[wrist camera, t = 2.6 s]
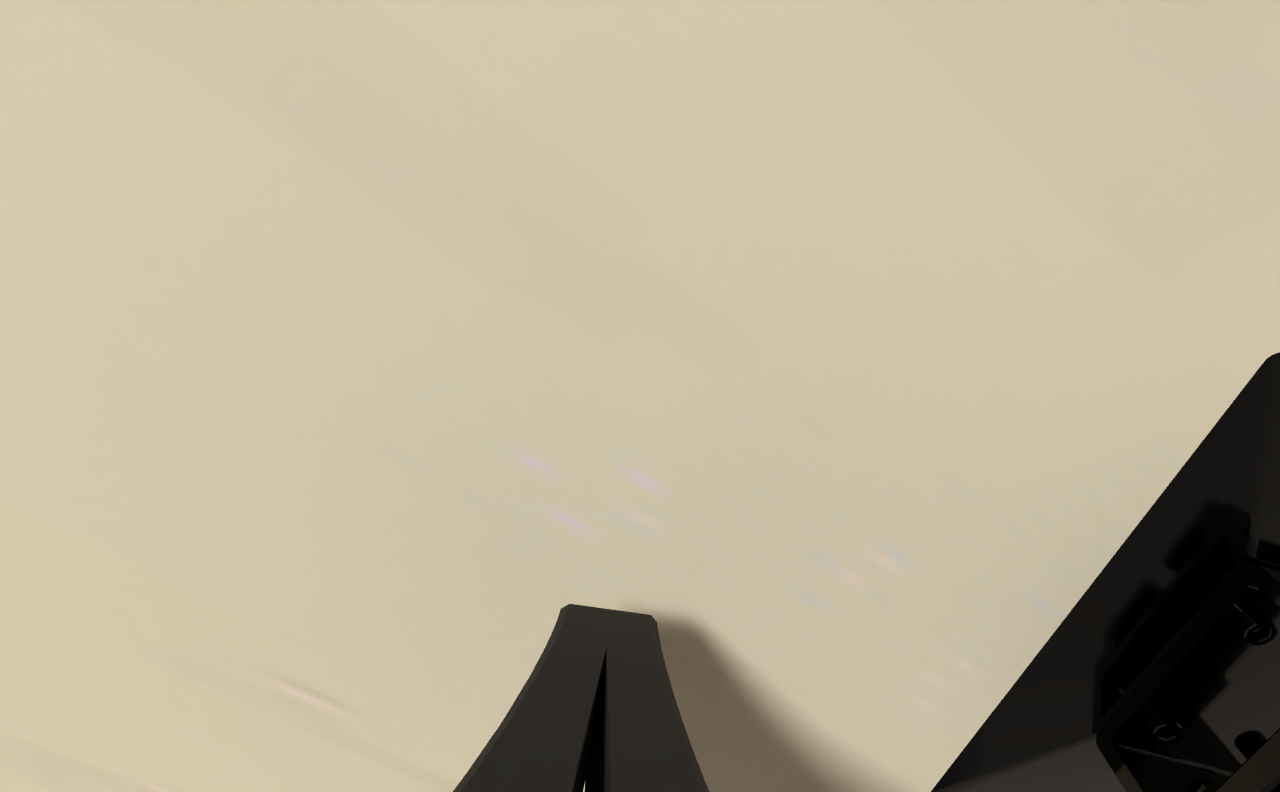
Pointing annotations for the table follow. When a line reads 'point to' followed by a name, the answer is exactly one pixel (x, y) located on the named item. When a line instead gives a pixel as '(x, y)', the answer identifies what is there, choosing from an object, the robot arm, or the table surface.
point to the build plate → (1163, 642)
